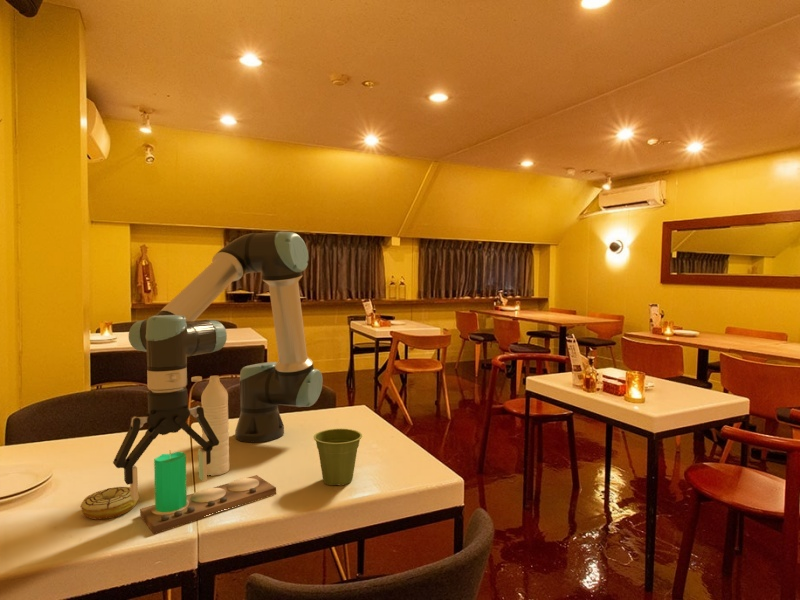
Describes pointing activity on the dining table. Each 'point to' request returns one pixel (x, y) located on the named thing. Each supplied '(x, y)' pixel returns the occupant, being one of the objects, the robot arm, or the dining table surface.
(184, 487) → the candle
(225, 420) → the water bottle
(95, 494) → the decorated donut
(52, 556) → the dining table surface
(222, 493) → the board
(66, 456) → the dining table surface
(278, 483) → the dining table surface
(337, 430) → the plant pot
